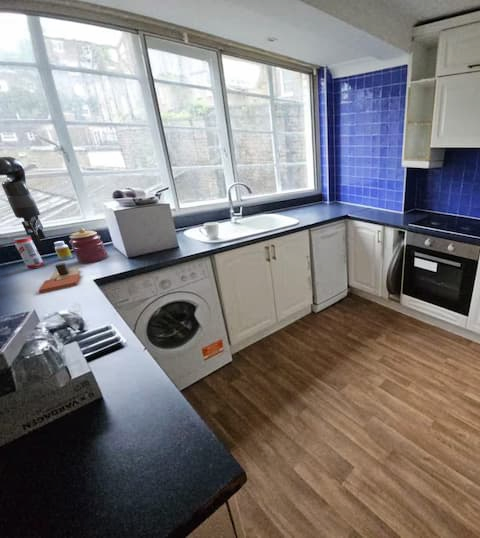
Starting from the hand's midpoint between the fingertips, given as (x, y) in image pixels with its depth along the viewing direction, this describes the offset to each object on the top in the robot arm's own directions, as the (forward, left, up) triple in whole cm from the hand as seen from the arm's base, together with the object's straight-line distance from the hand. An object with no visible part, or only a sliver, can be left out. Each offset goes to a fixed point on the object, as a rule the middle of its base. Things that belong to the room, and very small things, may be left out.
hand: (40, 241), depth 135 cm
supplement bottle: (-1, +33, -18) cm, 38 cm away
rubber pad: (+3, -13, -18) cm, 23 cm away
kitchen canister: (+12, +20, -18) cm, 30 cm away
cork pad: (+3, -4, -18) cm, 19 cm away
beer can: (-12, +26, -18) cm, 34 cm away
